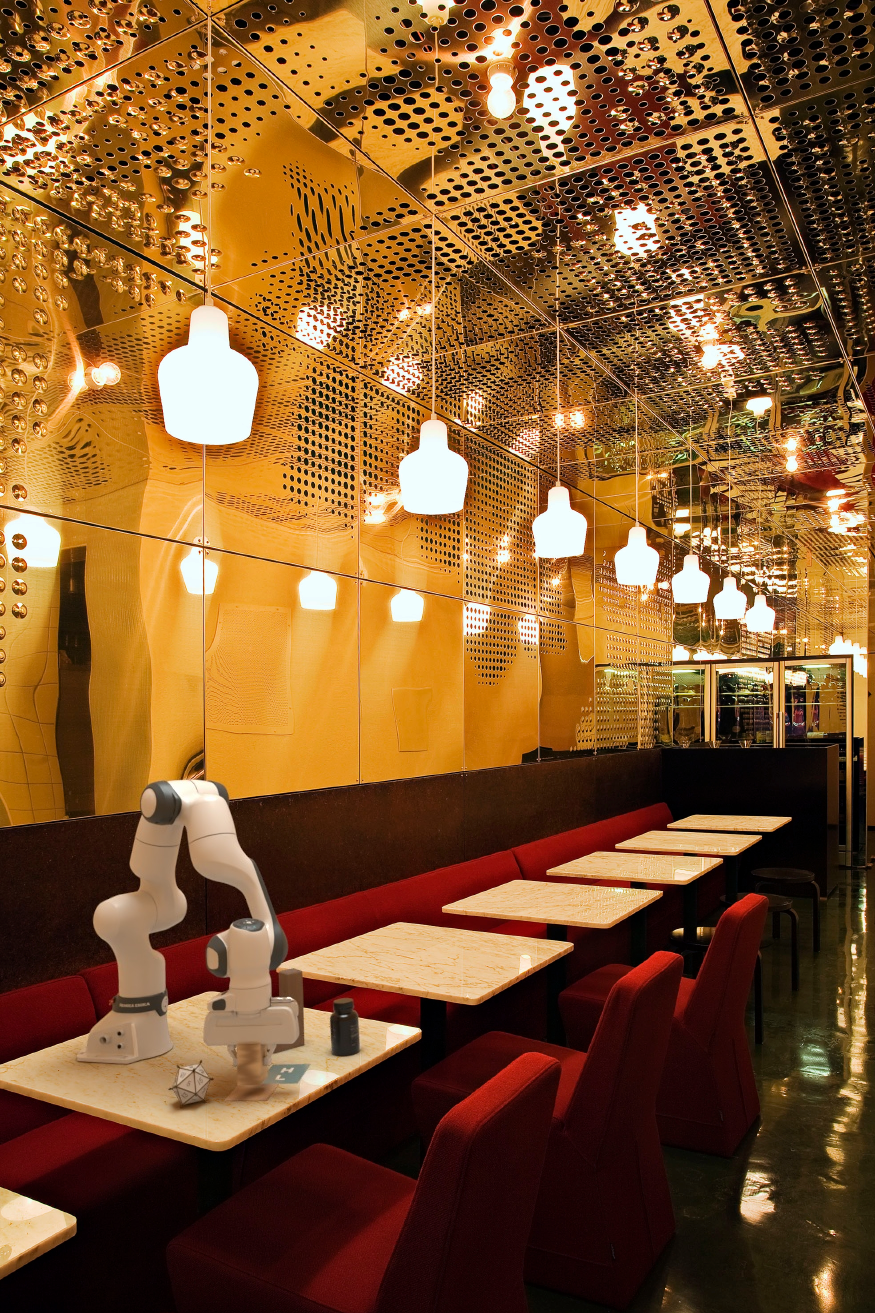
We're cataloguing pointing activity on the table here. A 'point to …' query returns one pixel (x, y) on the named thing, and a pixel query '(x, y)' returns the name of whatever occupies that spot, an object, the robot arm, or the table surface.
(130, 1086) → the table surface
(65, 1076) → the table surface
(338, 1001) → the supplement bottle
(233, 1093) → the cork mat
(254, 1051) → the oak block
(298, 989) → the wooden block
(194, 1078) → the game die
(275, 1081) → the tile
